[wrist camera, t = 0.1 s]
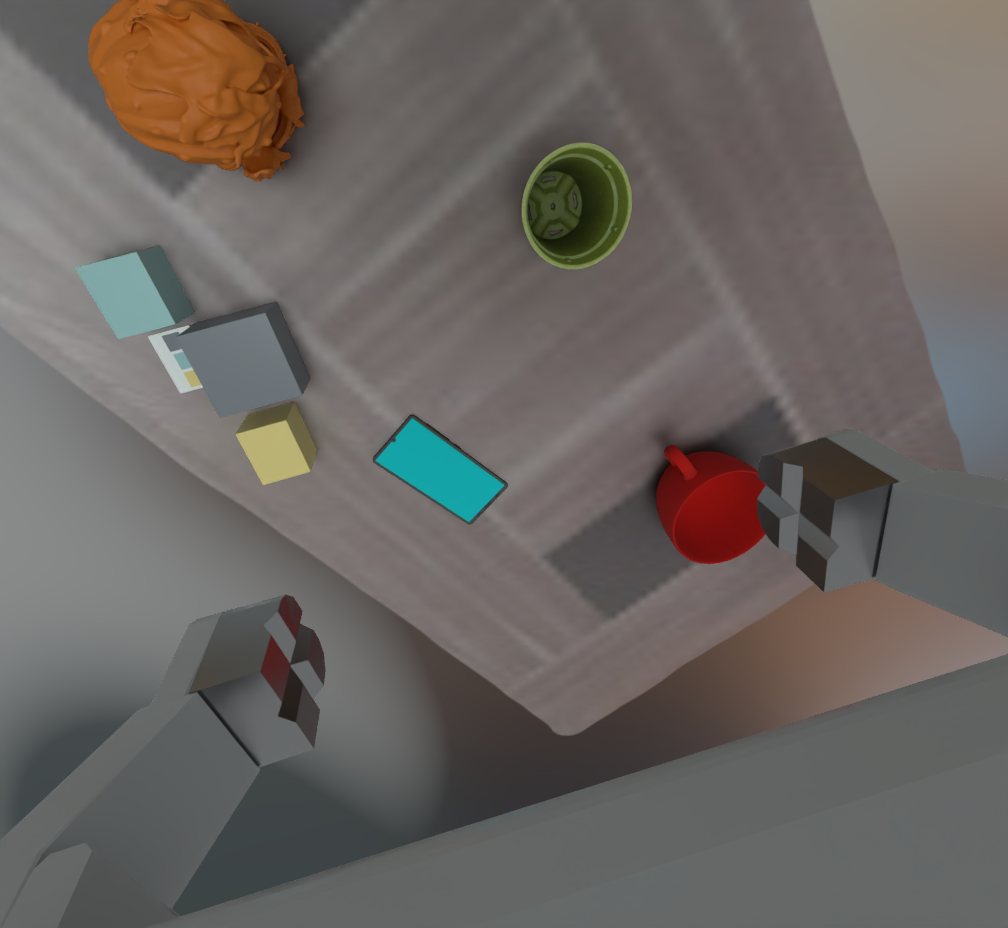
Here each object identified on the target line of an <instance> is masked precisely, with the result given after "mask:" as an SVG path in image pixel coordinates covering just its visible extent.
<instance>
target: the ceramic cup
mask: <svg viewBox="0 0 1008 928" xmlns="http://www.w3.org/2000/svg"><path fill="white" fill-rule="evenodd" d="M664 454H665V456H666V457H667V459H668V460H669V462H670V463H671V464H670V465H669V466H668V467H667V469H666V470H665V472H664V473H663V475H662V477H661V479H660V481H659V484H658V487H657V493H656V506H657V511H658V515H659V518H660V521H661V523H662V526H663V528H664V530H665V531H666V533H667V535H668V536H669V538H670V540H671V541H672V543H673V544H674V546H675V547H676V549H677V550H678V551H679V552H680V553H681V554H682V555H683V556H684V557H685V558H687V559H689V560H691V561H694V562H698V563H703V564H714V563H721V562H724V561H728V560H731V559H733V558H735V557H738V556H740V555H741V554H743V553H745V552H746V551H748V550H749V549H751V548H752V547H753V546H754V545H756V544H757V543H758V542H759V541H760V540H761V539H762V538H763V537H764V535H765V532H764V531H763V529H762V526H761V523H760V521H759V518H758V515H757V498H758V496H759V495H760V493H761V492H762V490H763V489H764V487H765V486H766V485H765V484H764V483H763V482H762V481H761V480H760V479H759V478H758V471H757V470H756V469H754V468H753V467H751V466H749V465H748V464H746V463H745V462H743V461H741V460H739V459H737V458H735V457H732V456H729V455H727V454H723V453H719V452H711V451H703V452H695V453H691V454H688V455H684V454H683V453H682V451H681V450H680V449H679V448H678V447H676V446H675V445H670V446H668V447H667V448H666V449H665V450H664Z"/></svg>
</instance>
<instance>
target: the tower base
mask: <svg viewBox="0 0 1008 928" xmlns="http://www.w3.org/2000/svg"><path fill="white" fill-rule="evenodd" d="M176 339H177V341H178V343H179V345H180V346H181V348H182V350H183V352H184V354H185V356H186V357H187V359H188V361H189V363H190V365H191V366H192V368H193V370H194V372H195V374H196V375H197V377H198V379H199V381H200V383H201V385H202V386H203V388H204V390H205V392H206V394H207V395H208V397H209V399H210V401H211V403H212V405H213V406H214V408H215V410H216V412H217V414H218V415H219V417H220V418H222V417H226V416H229V415H233V414H236V413H240V412H244V411H247V410H251V409H255V408H258V407H262V406H265V405H269V404H273V403H276V402H280V401H284V400H287V399H291V398H294V397H298V396H302V395H303V393H304V391H305V388H306V386H307V384H308V382H309V380H310V377H309V375H308V372H307V370H306V368H305V365H304V363H303V361H302V359H301V356H300V354H299V352H298V349H297V347H296V345H295V343H294V340H293V338H292V336H291V333H290V331H289V329H288V326H287V324H286V322H285V320H284V317H283V315H282V313H281V310H280V308H279V306H278V304H277V302H273V303H270V304H266V305H262V306H258V307H255V308H251V309H247V310H243V311H240V312H236V313H232V314H228V315H225V316H221V317H217V318H213V319H210V320H206V321H202V322H199V323H195V324H193V325H192V326H190V327H189V328H188V329H186V330H185V331H183V332H182V333H180V334H179V335H177V336H176Z"/></svg>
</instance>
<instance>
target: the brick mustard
mask: <svg viewBox="0 0 1008 928" xmlns="http://www.w3.org/2000/svg"><path fill="white" fill-rule="evenodd" d="M236 436H237V438H238V440H239V442H240V443H241V445H242V447H243V449H244V451H245V453H246V454H247V456H248V458H249V460H250V462H251V464H252V465H253V467H254V469H255V471H256V473H257V475H258V477H259V478H260V480H261V482H262V484H263V485H265V484H269V483H272V482H276V481H279V480H283V479H286V478H290V477H293V476H297V475H300V474H304V473H307V472H311V469H312V466H313V462H314V459H315V456H316V452H317V449H316V447H315V445H314V443H313V441H312V438H311V436H310V434H309V432H308V430H307V428H306V425H305V423H304V421H303V419H302V417H301V415H300V412H299V410H298V408H297V406H296V404H295V402H293V403H289V404H285V405H282V406H278V407H274V408H271V409H267V410H264V411H260V412H256V413H253V414H249V415H248V416H247V417H246V419H245V420H244V422H243V423H242V425H241V427H240V428H239V430H238V431H237V433H236Z"/></svg>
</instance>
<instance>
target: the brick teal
mask: <svg viewBox="0 0 1008 928" xmlns="http://www.w3.org/2000/svg"><path fill="white" fill-rule="evenodd" d="M75 269H76V271H77V273H78V274H79V276H80V278H81V279H82V281H83V282H84V284H85V286H86V287H87V289H88V291H89V292H90V294H91V296H92V297H93V299H94V300H95V302H96V304H97V305H98V307H99V309H100V310H101V312H102V314H103V315H104V317H105V318H106V320H107V322H108V323H109V325H110V327H111V328H112V330H113V332H114V333H115V335H116V336H117V338H118V339H122V338H125V337H129V336H133V335H137V334H140V333H144V332H148V331H152V330H155V329H159V328H163V327H167V326H170V325H174V324H177V323H178V322H180V321H181V320H183V319H184V318H186V317H187V316H189V315H190V314H192V313H193V312H194V310H193V308H192V306H191V304H190V302H189V300H188V298H187V296H186V294H185V292H184V290H183V288H182V287H181V285H180V283H179V281H178V279H177V277H176V275H175V273H174V271H173V269H172V267H171V265H170V263H169V261H168V260H167V258H166V256H165V254H164V252H163V250H162V248H161V246H156V247H152V248H148V249H144V250H141V251H137V252H133V253H129V254H125V255H121V256H117V257H114V258H110V259H106V260H102V261H99V262H95V263H91V264H88V265H84V266H80V267H77V268H75Z"/></svg>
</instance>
